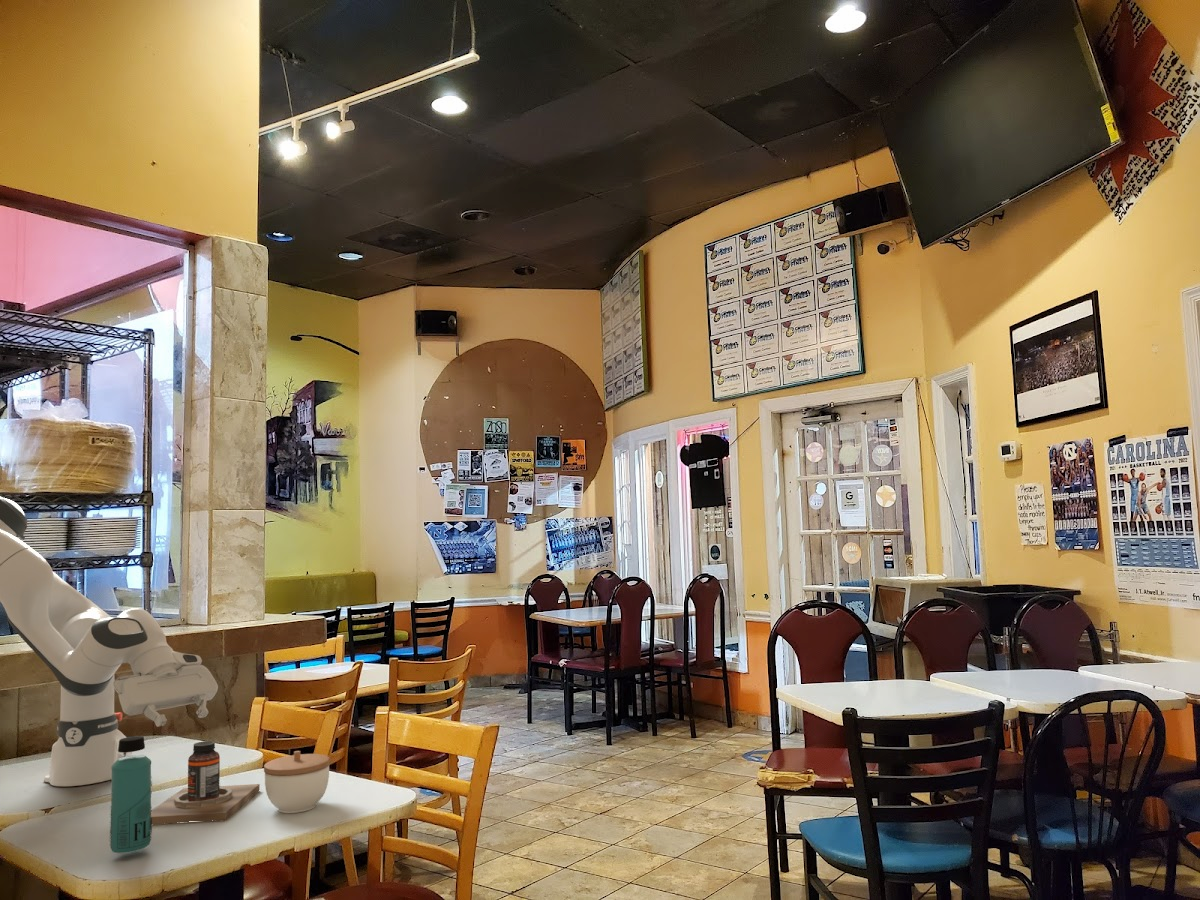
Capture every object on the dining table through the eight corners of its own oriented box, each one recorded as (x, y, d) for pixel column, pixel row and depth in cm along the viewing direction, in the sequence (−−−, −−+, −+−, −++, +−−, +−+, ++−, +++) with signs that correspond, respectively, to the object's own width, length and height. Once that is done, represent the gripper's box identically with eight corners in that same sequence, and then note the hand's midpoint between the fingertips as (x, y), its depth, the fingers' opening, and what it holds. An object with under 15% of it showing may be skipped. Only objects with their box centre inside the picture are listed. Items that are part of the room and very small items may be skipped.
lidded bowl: (266, 822, 168) (266, 762, 169) (261, 805, 179) (261, 749, 180) (334, 810, 173) (334, 753, 174) (325, 795, 184) (324, 741, 185)
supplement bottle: (182, 800, 179) (183, 743, 180) (211, 793, 183) (211, 738, 184) (195, 805, 175) (195, 747, 176) (224, 798, 179) (225, 741, 180)
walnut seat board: (183, 795, 188) (183, 783, 188) (259, 791, 189) (259, 779, 189) (140, 825, 168) (140, 812, 168) (225, 820, 169) (225, 807, 169)
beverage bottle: (133, 863, 148) (135, 741, 150) (99, 861, 149) (101, 741, 151) (160, 849, 154) (161, 733, 156) (127, 848, 156) (129, 733, 158)
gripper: (116, 667, 182) (141, 719, 176) (206, 654, 200) (232, 701, 193) (104, 688, 184) (129, 740, 178) (194, 673, 202) (220, 720, 195)
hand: (183, 719), depth 186 cm, fingers open, 8 cm apart
